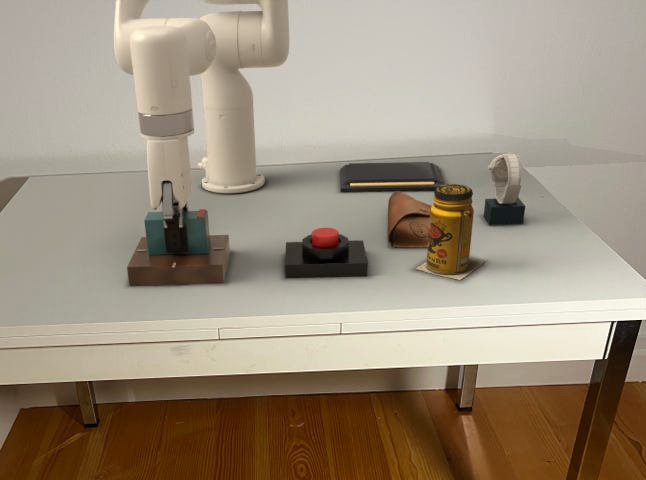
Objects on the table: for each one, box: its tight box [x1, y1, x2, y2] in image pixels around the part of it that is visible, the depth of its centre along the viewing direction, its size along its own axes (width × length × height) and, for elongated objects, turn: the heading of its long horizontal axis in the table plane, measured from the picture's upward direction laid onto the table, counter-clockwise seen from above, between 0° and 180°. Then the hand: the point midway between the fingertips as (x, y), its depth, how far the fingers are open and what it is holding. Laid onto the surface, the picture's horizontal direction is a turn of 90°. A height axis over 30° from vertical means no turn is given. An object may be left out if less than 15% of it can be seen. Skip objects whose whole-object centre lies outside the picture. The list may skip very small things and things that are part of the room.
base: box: [126, 234, 231, 287], centre depth 115 cm, size 14×13×3 cm
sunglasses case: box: [387, 191, 433, 249], centre depth 126 cm, size 18×7×7 cm
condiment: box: [414, 183, 487, 281], centre depth 109 cm, size 7×8×12 cm
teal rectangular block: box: [143, 208, 211, 255], centre depth 113 cm, size 9×4×6 cm, turn 87°
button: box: [311, 227, 340, 247], centre depth 112 cm, size 4×4×2 cm
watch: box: [483, 153, 526, 226], centre depth 125 cm, size 6×8×11 cm
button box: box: [284, 233, 369, 279], centre depth 114 cm, size 12×9×4 cm
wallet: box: [339, 161, 445, 193], centre depth 149 cm, size 20×2×15 cm
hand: (179, 245), depth 114 cm, fingers closed on teal rectangular block, 3 cm apart
